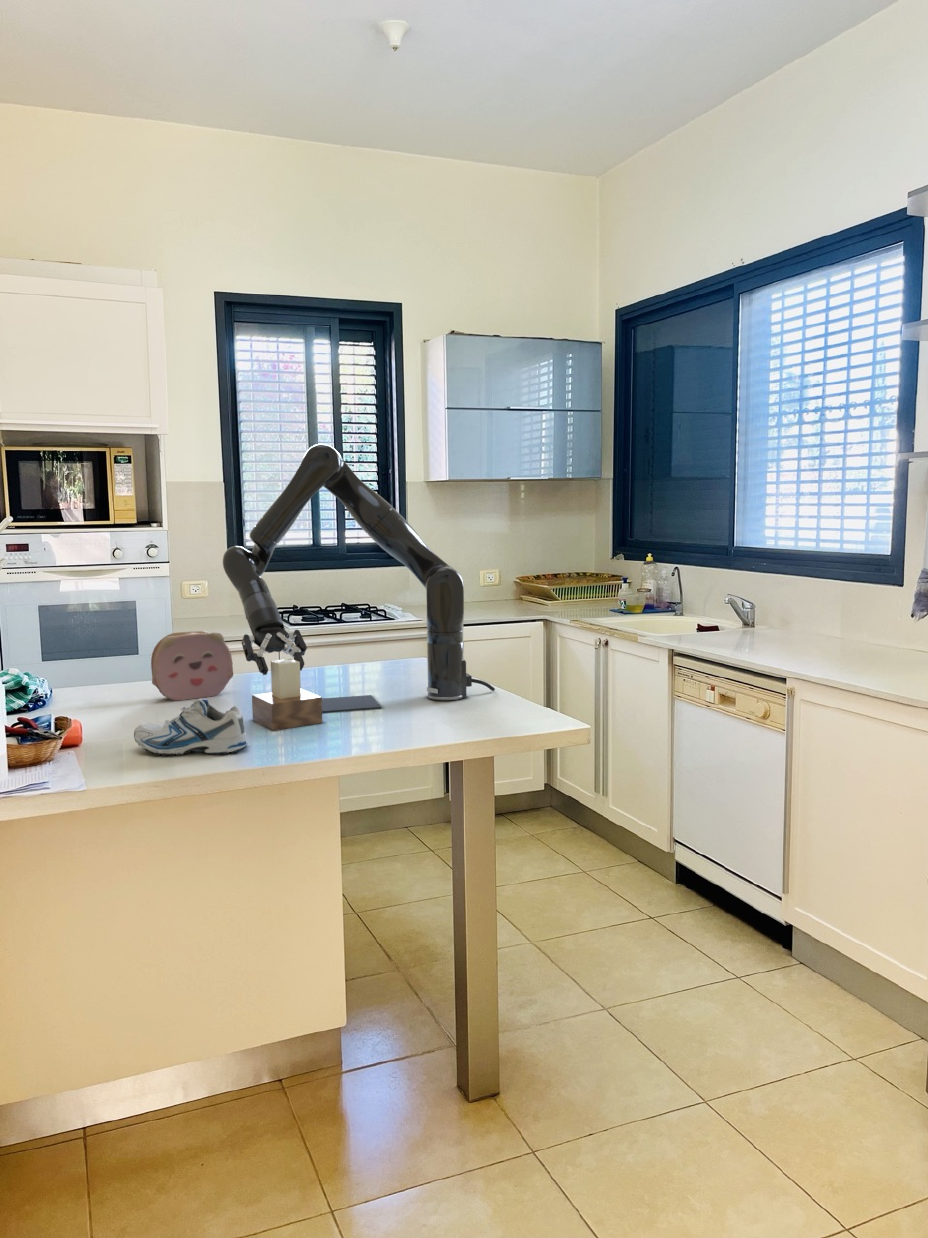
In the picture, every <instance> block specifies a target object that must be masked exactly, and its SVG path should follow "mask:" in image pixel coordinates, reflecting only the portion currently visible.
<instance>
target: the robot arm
mask: <svg viewBox="0 0 928 1238" xmlns="http://www.w3.org/2000/svg"><path fill="white" fill-rule="evenodd" d="M323 487H324V488H325V489H326V490H327V491H328V492H330V493H331V494H332V495H333V496H334V497H335V498H336V499H338V500H339V501H340V502H341V503H342V505H343V506H344V507H345V509H346V511H348V513H349V514H350V515H351V517H352V518H353V519H354V521H355V523H356V524H358V526H359V527H360V528H361V529H362V530H363V531H364V533H365V534H367V535H368V536H369V537H370V538H371V540H372V541H374V543H376V545H378V546H379V547H380V548H381V549H382V550H383V551H385V552H386V553H387V554H389V556H391V557H393V558H394V559H395V560H397V561H398V562H400V563H401V564H403V566H405V567H406V569H408V570H409V571H410V572H411V574H413V575H414V577H415V578H416V579H417V580H418V581H419V582H420V584H421V585H422V586H423V587H424V588H425V590H426V594H425V595H426V653H427V654H426V655H427V656H426V660H427V662H426V663H427V664H426V665H427V666H426V667H427V686H426V692H427V698H428V699H430V700H434V701H456V700H460V699H467V698H468V697H467V688H468V687H469V688H470V687H472V685H473V684H479V685H481V686H484V687H486V688H488V689H489V690H490V691H492V692H494V691H495V690H496V688H495V687H494V686H493V685H491V684H490V683H488V682H486V681H485V680H481V679H476V678H473V677H472V675H471V674H469V673H467V660H466V659H465V658H464V657H465V656H464V655H465V654H464V651H465V650H464V647H465V646H464V645H465V644H464V643H465V641H464V622H465V621H464V620H465V588H464V585H465V584H464V580H463V578H462V576H461V575H460V573H459V572H458V571H457V570H456V569H455V568H454V567H452V566H451V565H449V563H447V562H446V561H444V560H443V559H442V558H441V557H439V556H438V555H437V554H436V553H434V552H433V550H431V548H429V546H427V544H426V543H425V542H424V541H423V539H422V538H421V536H419V534H418V533H417V531H415V529H414V528H413V526H411V524H410V523H409V522H408V521H407V520H406V519H405V518H404V516H402V515H401V513H400V512H398V510H396V508H394V507H393V506H392V505H391V504H390V503H389V502H388V501H387V500H385V498H384V497H382V496H381V495H380V494H379V493H377V492H376V491H374V490H373V488H371V487H369V486H368V485H367V484H365V483H364V482H363V481H362V480H361V479H360V478H359V476H358V475H356V473H355V472H354V471H353V470H352V469H351V467H350V466H349V465H348V463H346V461H345V459H344V458H342V456H341V454H340V453H339V452H338V451H337V450H336V448H334V447H332V446H331V445H329V444H325V443H318V444H314V445H313V446H311V447H309V449H307V450H306V452H305V453H304V456H303V459H302V460H301V462H300V464H299V466H298V468H297V470H296V471H295V473H294V475H293V476H292V478H291V480H290V481H289V482H288V484H287V486H286V487H285V488H284V490H283V491H282V492H281V493H280V495H279V496H278V497H277V498H276V499H275V501H274V502H273V503H272V504H271V505H270V506H269V508H268V509H267V510H266V511H265V512H264V514H263V515H262V516H261V517H260V519H258V521H257V523H256V524H255V525H254V526H253V527H252V529H251V531H250V532H249V538H250V540H251V542H252V543H253V544H254V545H253V548H252V550H251V551H250V550H248V549H246V548H244V547H243V546H239V545H234V546H231V547H229V548H227V549H226V551H224V554H223V557H222V568H223V570H224V573H225V574H226V577H227V578H228V580H229V581H230V582H231V584H232V586H233V587H234V589H235V590H236V591H237V593H238V595H239V599H240V602H241V604H242V607H243V611H244V616H245V620H246V621H247V624H248V626H249V629H250V632H251V634H252V636H250V635H249V634H247V633H245V634H244V635H243V636H242V640H241V646H242V649H243V653H244V656H245V660H246V661H247V662H254V663H256V666H257V669H258V672H259V673H260V674H262V676H267V675H268V672H269V667H268V664H267V662H266V659H265V657H264V654H265V653H266V652H267V653H268V654H270V653H273V652H274V653H275V652H276V653H281V652H283V653H284V654H286V655H290V657H292V658H293V660H296V661H299V662H300V672H301V671H303V669H304V666H305V661H304V658H303V656H305V653H306V651H307V649H308V646H307V643H306V642H305V640H304V637H303V636H302V634H301V632H300V631H301V630H299V629H294V631H292V632H288V631H287V630H286V629H285V624H284V622H283V619H282V617H281V614H280V611H279V609H278V607H277V605H276V602H275V600H274V599H273V597H272V594H271V591H270V589H269V587H268V584H267V582H266V580H264V579H263V578H262V577H261V576H262V575H263V574H264V573H265V571H266V569H267V567H268V564H269V562H270V560H271V558H272V556H273V554H274V551H275V548H276V547H277V546H278V545H279V543H280V542H281V541H282V540H283V538H284V537H285V536H286V534H287V533H288V532H289V530H290V529H291V528H292V526H293V525H294V524H295V522H296V520H297V519H298V517H299V516H300V514H301V512H302V511H303V509H304V508H305V506H306V505H307V504H308V503H309V501H310V500H311V499H312V498H313V496H315V494H317V493H318V491H319V490H321V489H322V488H323ZM253 644H254V645H256V646H257V647H259V649H258V651H257V652H254V648H253Z"/></svg>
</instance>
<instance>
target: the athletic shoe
mask: <svg viewBox="0 0 928 1238" xmlns="http://www.w3.org/2000/svg"><path fill="white" fill-rule="evenodd" d="M180 710H181V712H180V714H179V715H177V716H176V717H173V718H172V719H171V720H165V722H164V723H163V724H158V723H151V722H147V723H146V722H143V723H139V725H138V726H136V727H135V729H134V731H133V737H134V738H133V739H134V742H135V743H136V744H137V746H139V747H141V748H142V749H143V750H144V751H145V752H146V753H147V752H151V753H152V754H154V755H155V756H161V755H162V756H164V757H166V756H172V757H173V756H175V755H176V756H184V755H188V754H190V753H191V752H192V751H194V750H195V751H196V750H198V751H201V752H204V753H206V754H207V755H209V756H222V755H227V754H229V753H230V752H231V753H232V754H236V753H237V752H240V751H242V750H243V749H245V748H246V747H247V746H248V744H249V742H248V739H247V738H248V736H247V733H246V730H245V723H244V717H243V715H242V714H243V713H242V711H241V710H240V708H239V707H237V706H231V707H230V709H229V710H225V712H222V711H220V710H218V709H217V708H216V707H215V706H213V705H212V704H209V700H208V699H206V698H195V700H194V701H193V702H192V704H191V705H190V706H182V707H181V708H180Z"/></svg>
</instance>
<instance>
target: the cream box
mask: <svg viewBox="0 0 928 1238" xmlns="http://www.w3.org/2000/svg"><path fill="white" fill-rule="evenodd" d="M270 679H271V680H270V681H271V692H272V696H275V697H277V698H279V699H285V698H292V697H299V696H301V689H302V687H301V671H300V662H299V661H296V660H294V658H285V659H277V660H271V661H270Z"/></svg>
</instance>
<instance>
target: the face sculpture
mask: <svg viewBox="0 0 928 1238" xmlns="http://www.w3.org/2000/svg"><path fill="white" fill-rule="evenodd" d="M150 667H151V668H150V671H151V684H152V685H153V686H155V687H156V689H157V690H158V691H159V693H160V694H161V696H163V697H165V698H167V699H169V700H171V701H173V702H175V701H176V702H177V701H183V700H193V699H195V700H196V699H204V698H209V697H216V696H218V695H219V694H221V692H223V691H224V690H225V689H226V687H227V685H228V683H230V680H231V679H232V678H233V677H234V665H233V655H232V651H231V649H230V648H229V646H228V645H227V643H226V641H225V637H224V635H223V634H222V633H220V632H215V631H214V632H208V631H204V630H190V631H181V632H180V631H179V632H172V633H169V634H167V635H165V636H164V637H162V638H161V639H160V640H159V641H158V642H157V643H156V645H155V646H154V648H153V650H152V653H151V660H150Z"/></svg>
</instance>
